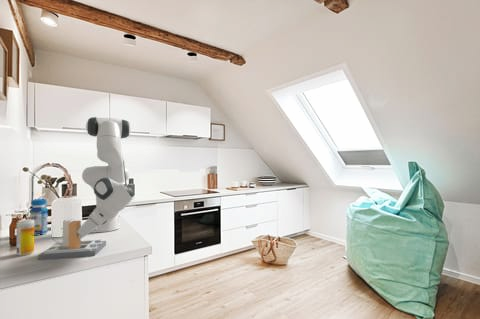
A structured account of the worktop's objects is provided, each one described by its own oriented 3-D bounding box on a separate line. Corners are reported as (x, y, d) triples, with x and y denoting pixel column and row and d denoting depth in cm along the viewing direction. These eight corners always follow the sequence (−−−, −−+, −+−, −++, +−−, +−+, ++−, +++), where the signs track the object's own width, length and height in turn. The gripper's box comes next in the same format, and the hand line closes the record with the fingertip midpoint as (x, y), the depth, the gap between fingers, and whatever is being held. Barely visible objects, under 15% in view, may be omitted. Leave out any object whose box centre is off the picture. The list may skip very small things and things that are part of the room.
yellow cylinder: (37, 252, 116) (37, 219, 116) (23, 256, 110) (23, 222, 110) (27, 251, 117) (27, 218, 118) (12, 255, 112) (13, 221, 112)
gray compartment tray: (106, 244, 126) (106, 216, 126) (95, 255, 111) (95, 223, 111) (56, 248, 121) (56, 218, 122) (38, 259, 107) (38, 226, 107)
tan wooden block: (80, 246, 116) (80, 220, 116) (76, 250, 111) (76, 222, 112) (73, 247, 115) (73, 220, 116) (68, 250, 111) (68, 223, 111)
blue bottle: (50, 233, 147) (50, 199, 148) (32, 237, 140) (32, 201, 141) (44, 231, 152) (44, 198, 153) (26, 234, 145) (27, 199, 146)
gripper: (105, 206, 126) (84, 226, 124) (90, 213, 106) (63, 238, 104) (115, 214, 127) (94, 235, 125) (101, 224, 107) (75, 249, 104)
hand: (80, 237), depth 114 cm, fingers closed, pressing on tan wooden block
